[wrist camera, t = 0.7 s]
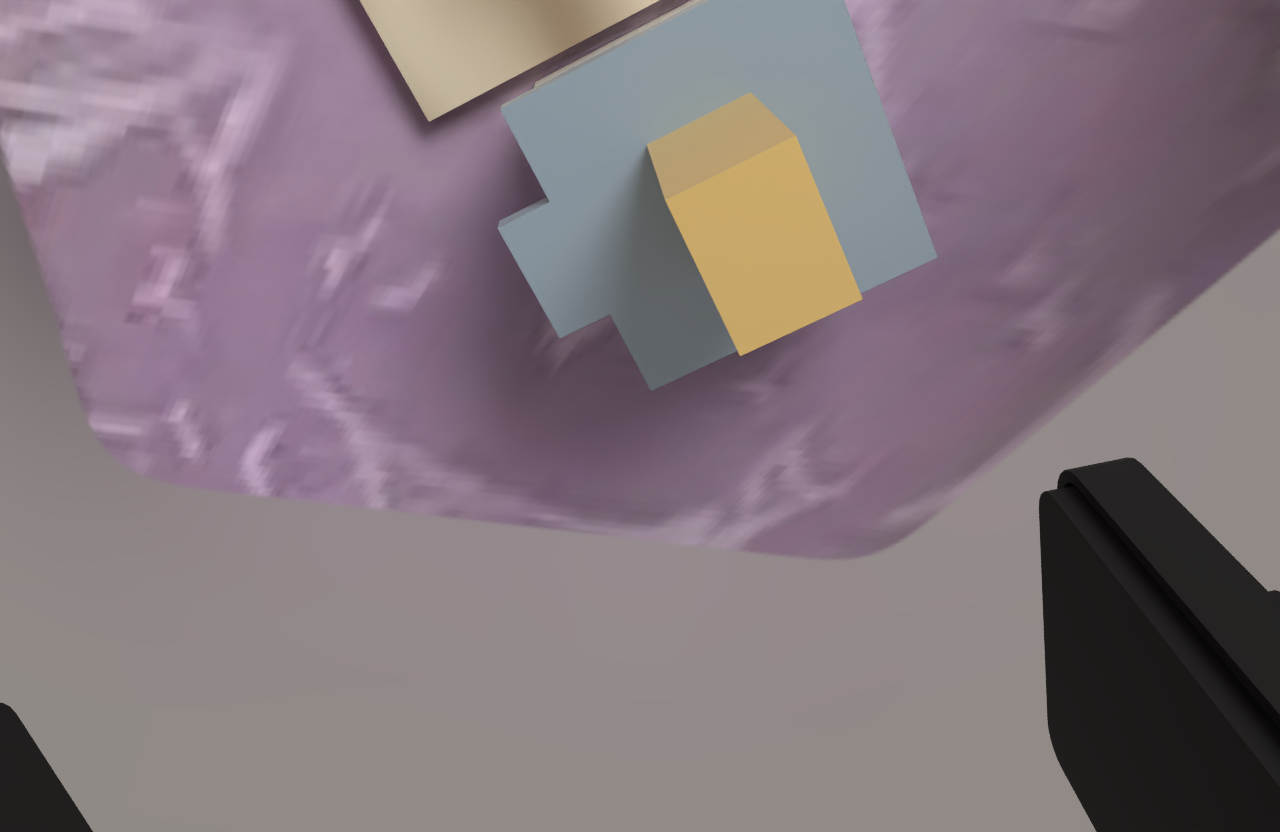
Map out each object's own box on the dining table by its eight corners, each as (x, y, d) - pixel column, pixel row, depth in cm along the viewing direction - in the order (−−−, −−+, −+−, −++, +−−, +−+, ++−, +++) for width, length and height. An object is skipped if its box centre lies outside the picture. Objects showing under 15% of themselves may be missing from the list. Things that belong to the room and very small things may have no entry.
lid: (815, -60, 26) (890, -55, 20) (928, 249, 29) (1021, 334, 23) (449, 132, 27) (413, 192, 21) (601, 402, 31) (608, 520, 25)
